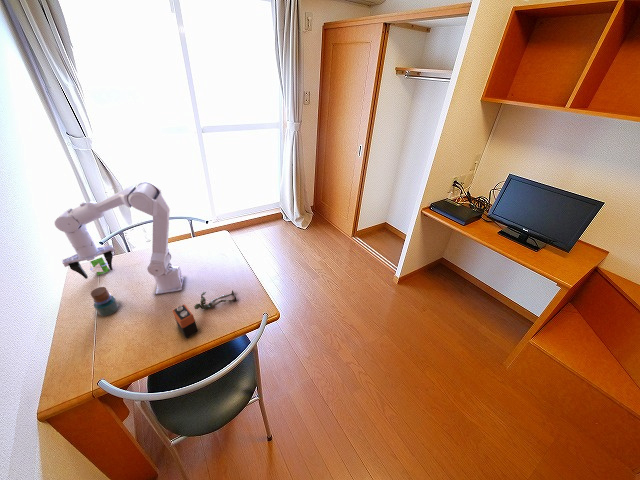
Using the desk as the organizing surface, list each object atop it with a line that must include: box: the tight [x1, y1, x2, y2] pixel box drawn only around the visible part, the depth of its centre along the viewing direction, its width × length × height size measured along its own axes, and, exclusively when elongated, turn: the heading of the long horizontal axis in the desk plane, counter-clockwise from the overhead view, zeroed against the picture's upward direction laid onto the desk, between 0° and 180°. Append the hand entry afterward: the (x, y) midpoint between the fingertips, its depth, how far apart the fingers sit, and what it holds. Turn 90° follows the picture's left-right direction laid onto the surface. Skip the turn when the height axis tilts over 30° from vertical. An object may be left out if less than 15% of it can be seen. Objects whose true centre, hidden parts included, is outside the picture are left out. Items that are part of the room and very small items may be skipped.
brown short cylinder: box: [90, 286, 111, 302], centre depth 95 cm, size 5×5×3 cm
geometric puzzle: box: [89, 256, 111, 276], centre depth 114 cm, size 7×7×8 cm
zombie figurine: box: [193, 290, 237, 310], centre depth 102 cm, size 5×7×15 cm
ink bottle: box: [93, 294, 120, 317], centre depth 97 cm, size 6×6×6 cm
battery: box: [172, 303, 199, 339], centre depth 91 cm, size 4×7×10 cm, turn 46°
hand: (99, 272), depth 100 cm, fingers open, 7 cm apart
